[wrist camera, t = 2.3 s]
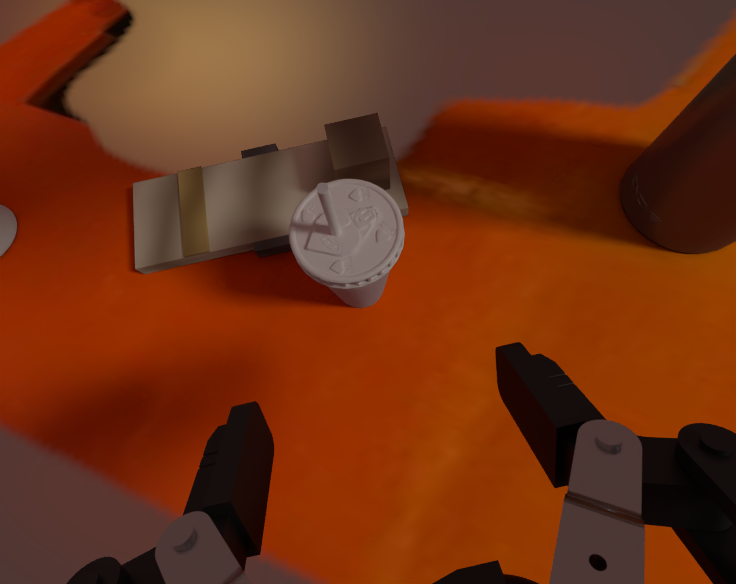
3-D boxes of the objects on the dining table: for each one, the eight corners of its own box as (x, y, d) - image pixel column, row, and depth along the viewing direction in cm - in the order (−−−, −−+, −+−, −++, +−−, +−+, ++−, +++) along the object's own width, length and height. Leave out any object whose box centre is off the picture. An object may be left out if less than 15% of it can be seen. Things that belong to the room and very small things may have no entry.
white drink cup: (305, 272, 31) (238, 163, 18) (375, 233, 32) (361, 100, 18) (344, 341, 29) (301, 276, 16) (417, 298, 30) (436, 202, 16)
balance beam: (384, 129, 35) (382, 81, 30) (410, 223, 32) (413, 187, 27) (141, 183, 35) (99, 144, 30) (144, 283, 32) (98, 258, 27)
